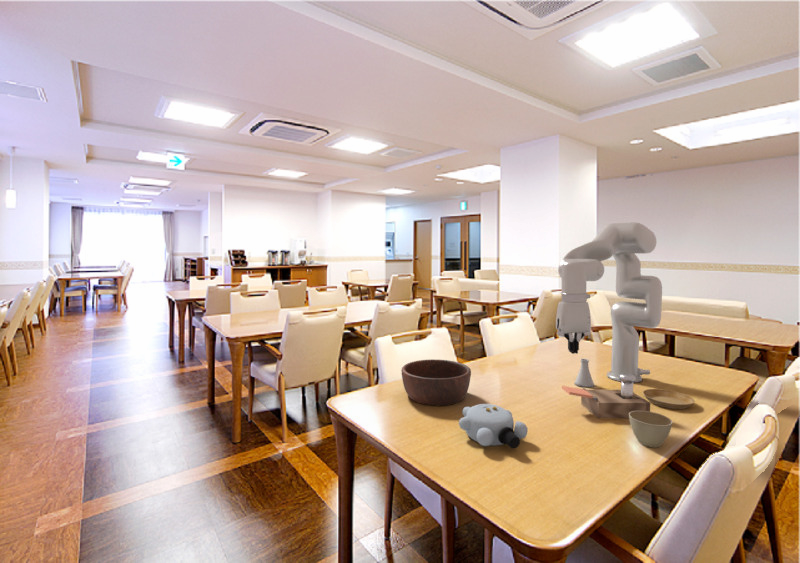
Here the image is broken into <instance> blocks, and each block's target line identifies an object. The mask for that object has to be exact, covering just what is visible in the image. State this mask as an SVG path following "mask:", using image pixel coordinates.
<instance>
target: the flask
mask: <svg viewBox="0 0 800 563" xmlns="http://www.w3.org/2000/svg"><path fill="white" fill-rule="evenodd" d="M579 360H580V368H579V371H578V374H577V376H576V379H575V381H574V383H573V384H574V385H576V386H578V387H582V388H593V387H595V383H594V380H593V379H592V374H591V371H590V369H589V368H590V367H589V362H590V359H588V358H580V359H579Z"/></svg>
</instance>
